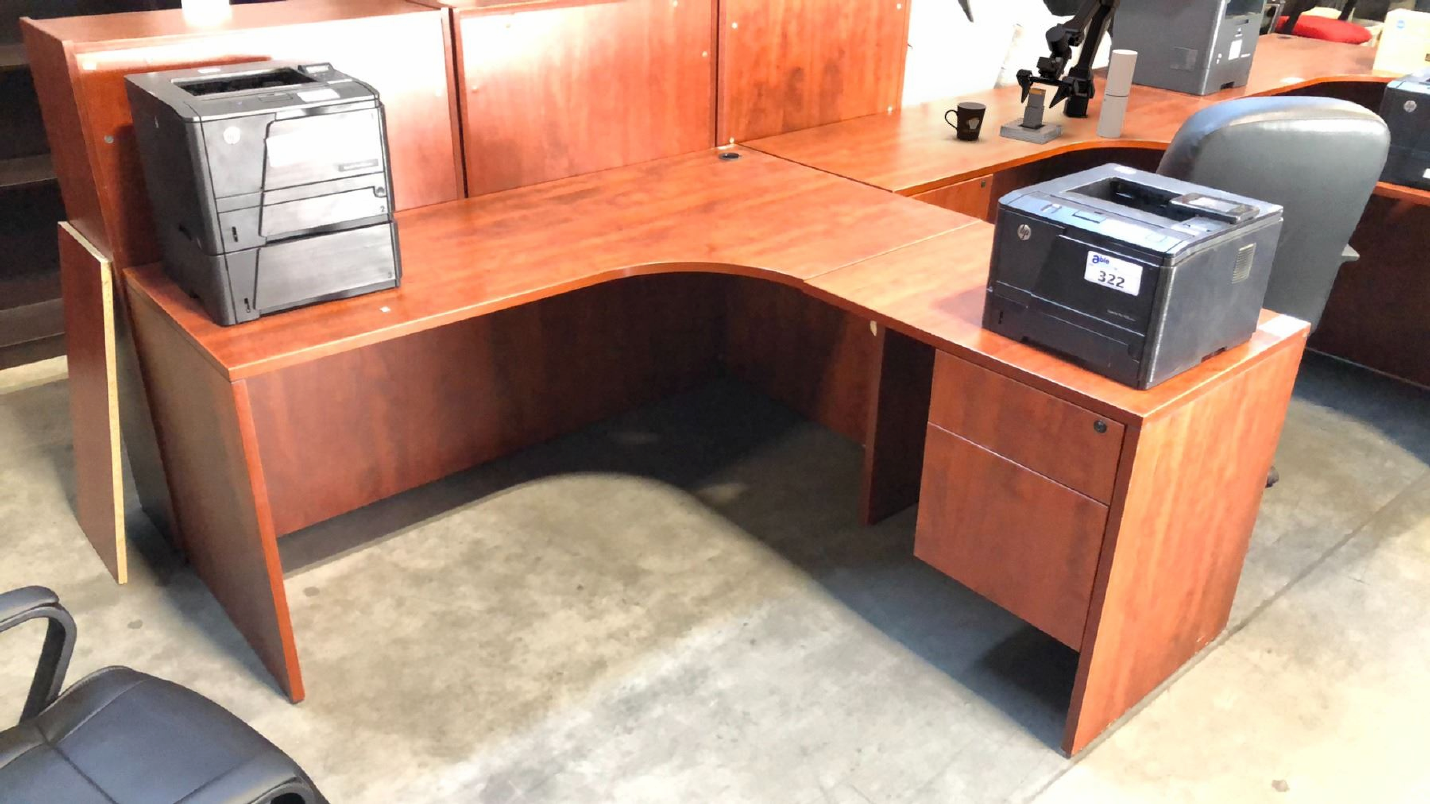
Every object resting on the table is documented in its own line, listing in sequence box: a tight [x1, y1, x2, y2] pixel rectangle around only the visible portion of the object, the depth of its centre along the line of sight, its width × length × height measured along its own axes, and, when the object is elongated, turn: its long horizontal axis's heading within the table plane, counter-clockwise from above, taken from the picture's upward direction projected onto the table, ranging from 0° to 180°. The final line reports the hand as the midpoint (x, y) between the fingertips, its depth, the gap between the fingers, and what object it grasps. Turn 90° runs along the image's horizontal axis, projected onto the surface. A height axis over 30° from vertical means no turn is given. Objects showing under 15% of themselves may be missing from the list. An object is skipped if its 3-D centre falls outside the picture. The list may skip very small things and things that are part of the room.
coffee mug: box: [944, 101, 987, 142], centre depth 316 cm, size 12×9×10 cm
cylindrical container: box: [1096, 49, 1138, 139], centre depth 319 cm, size 7×7×25 cm
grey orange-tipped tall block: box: [1022, 87, 1047, 130], centre depth 319 cm, size 5×4×14 cm
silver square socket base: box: [999, 117, 1064, 145], centre depth 322 cm, size 14×14×3 cm
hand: (1035, 105), depth 318 cm, fingers open, 9 cm apart
